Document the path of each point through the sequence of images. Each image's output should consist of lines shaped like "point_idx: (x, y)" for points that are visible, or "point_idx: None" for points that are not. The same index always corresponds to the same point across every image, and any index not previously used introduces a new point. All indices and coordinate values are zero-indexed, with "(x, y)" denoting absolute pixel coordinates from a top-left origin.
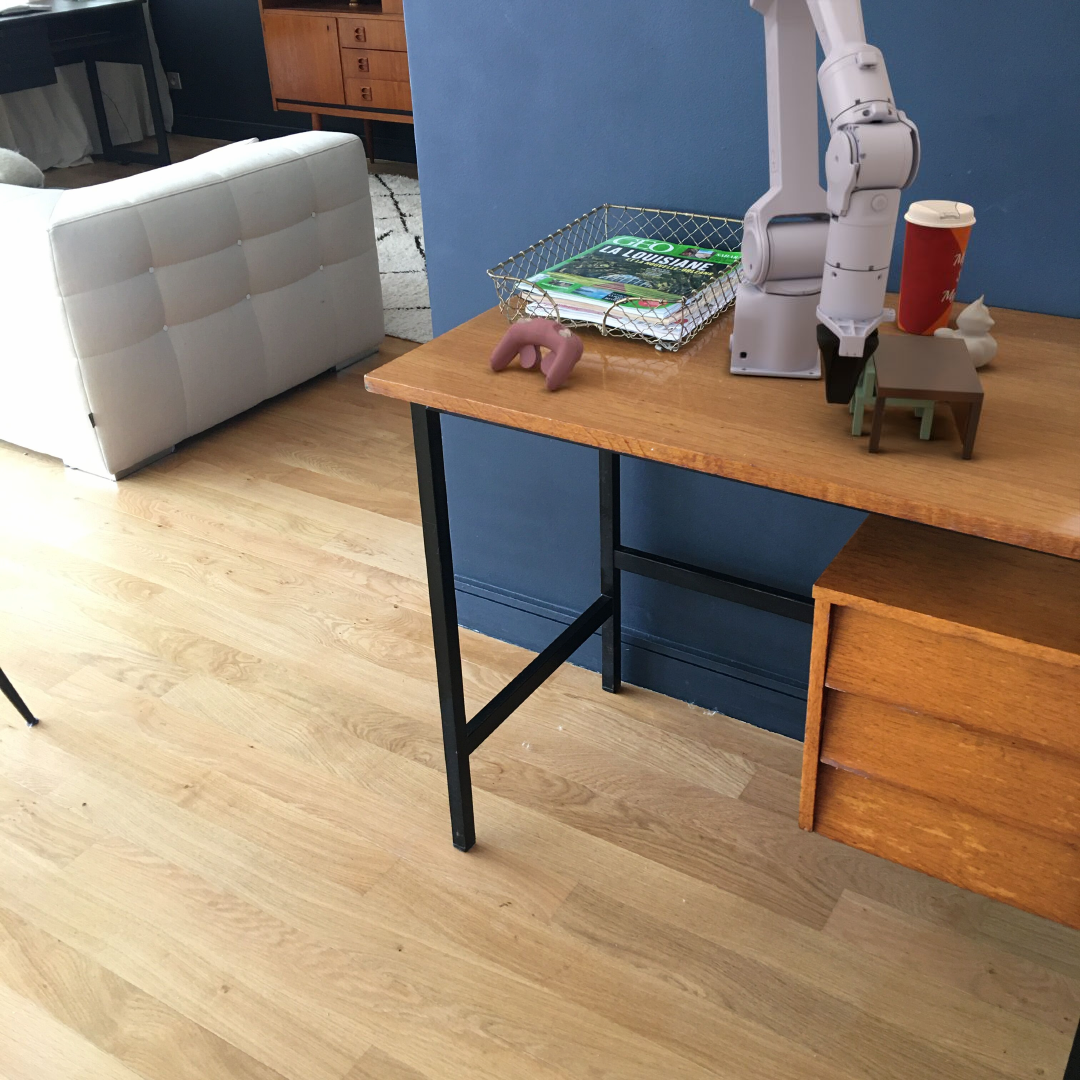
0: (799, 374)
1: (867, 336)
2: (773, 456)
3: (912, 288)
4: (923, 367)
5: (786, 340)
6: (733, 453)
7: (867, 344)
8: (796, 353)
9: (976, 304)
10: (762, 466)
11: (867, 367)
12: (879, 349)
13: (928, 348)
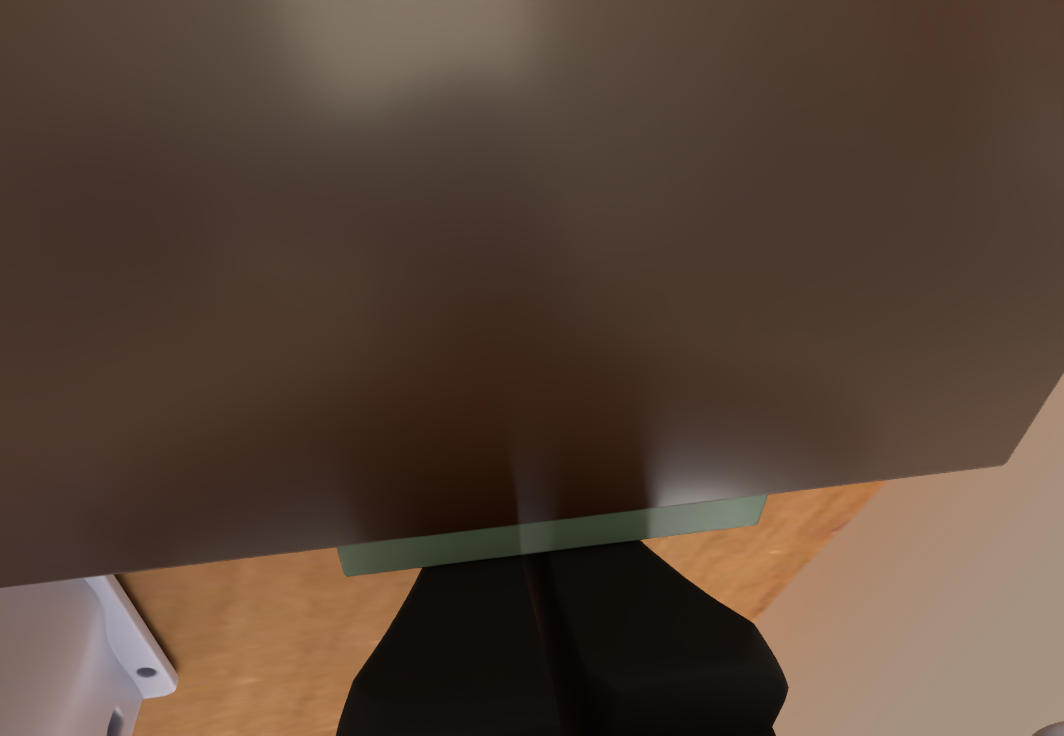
0: None
1: (615, 731)
2: (792, 499)
3: None
4: (700, 211)
5: (35, 733)
6: (764, 570)
7: (780, 704)
8: (29, 643)
9: None
10: (850, 510)
11: (676, 531)
12: (331, 515)
13: (78, 137)
